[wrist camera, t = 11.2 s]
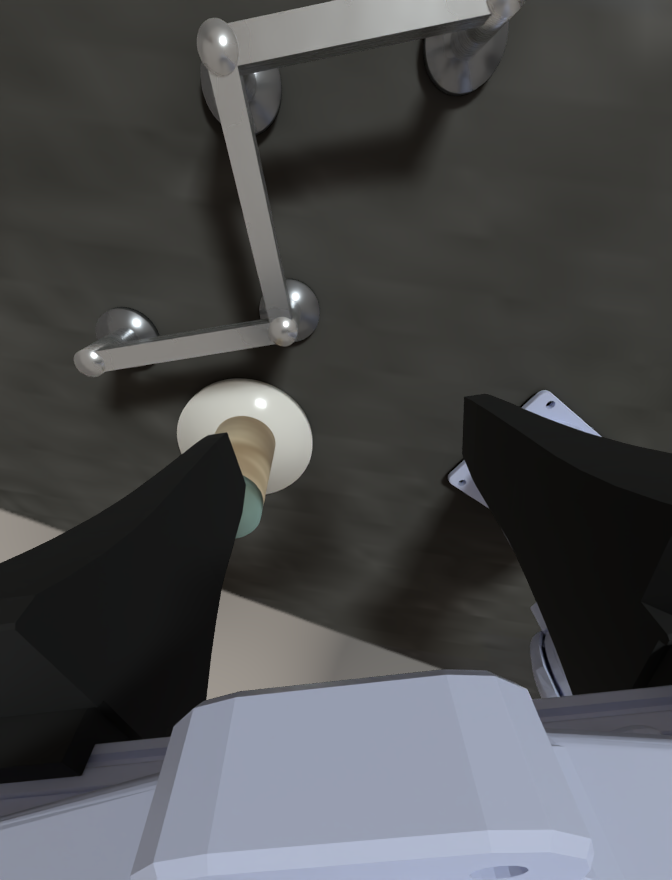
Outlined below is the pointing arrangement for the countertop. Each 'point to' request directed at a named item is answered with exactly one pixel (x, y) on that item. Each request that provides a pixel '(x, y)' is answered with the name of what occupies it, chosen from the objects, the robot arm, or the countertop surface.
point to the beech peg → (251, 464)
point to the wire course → (254, 110)
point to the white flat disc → (262, 405)
